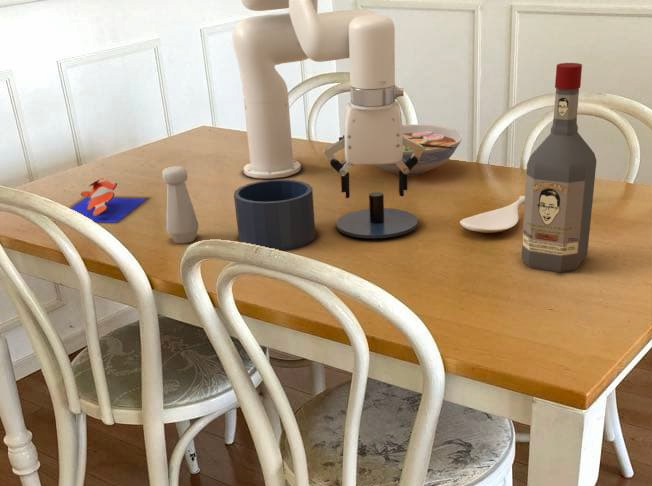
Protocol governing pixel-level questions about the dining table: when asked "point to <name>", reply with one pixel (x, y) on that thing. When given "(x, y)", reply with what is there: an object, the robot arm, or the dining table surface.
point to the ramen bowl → (427, 147)
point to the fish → (105, 203)
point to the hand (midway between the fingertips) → (374, 194)
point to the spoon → (494, 219)
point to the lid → (377, 220)
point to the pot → (275, 213)
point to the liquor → (560, 185)
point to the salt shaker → (179, 206)
